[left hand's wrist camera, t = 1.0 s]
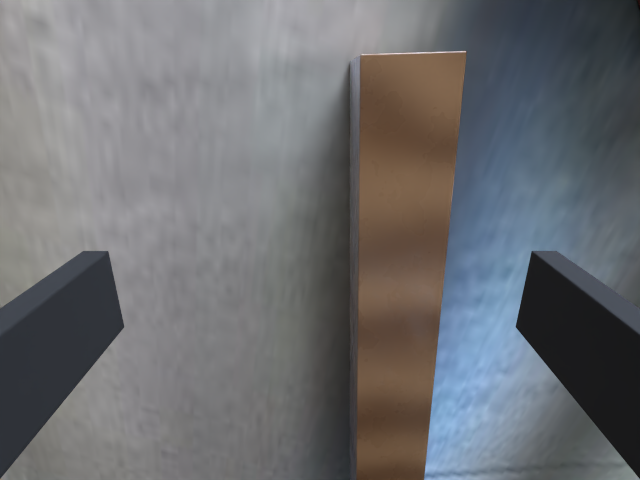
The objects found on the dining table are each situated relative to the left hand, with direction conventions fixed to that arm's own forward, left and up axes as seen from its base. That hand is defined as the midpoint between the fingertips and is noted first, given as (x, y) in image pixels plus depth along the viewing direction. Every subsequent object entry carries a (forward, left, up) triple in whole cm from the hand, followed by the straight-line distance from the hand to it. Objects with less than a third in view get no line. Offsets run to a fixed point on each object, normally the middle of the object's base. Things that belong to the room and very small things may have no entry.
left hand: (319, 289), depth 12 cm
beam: (+18, +5, -19) cm, 27 cm away
